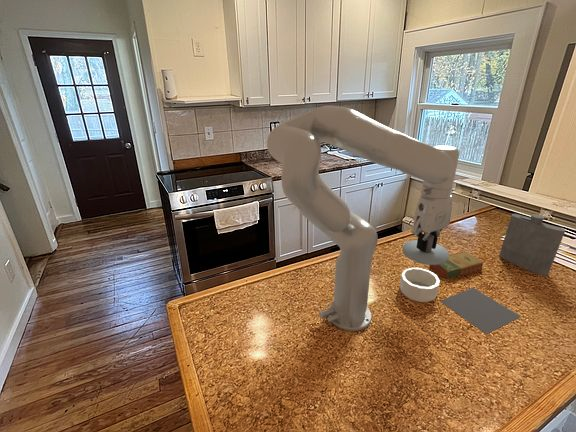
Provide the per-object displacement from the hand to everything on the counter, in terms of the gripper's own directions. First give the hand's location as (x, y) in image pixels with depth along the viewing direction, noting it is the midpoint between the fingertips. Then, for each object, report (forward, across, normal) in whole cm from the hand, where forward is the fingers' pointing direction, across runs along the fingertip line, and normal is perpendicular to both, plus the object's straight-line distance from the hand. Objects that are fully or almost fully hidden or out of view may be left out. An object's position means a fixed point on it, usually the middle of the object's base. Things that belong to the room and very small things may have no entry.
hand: (425, 247), depth 91 cm
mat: (+17, +10, -14) cm, 24 cm away
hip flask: (+17, +46, -5) cm, 49 cm away
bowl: (+17, 0, 0) cm, 17 cm away
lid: (+2, 0, 0) cm, 2 cm away
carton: (+18, +22, +4) cm, 28 cm away
